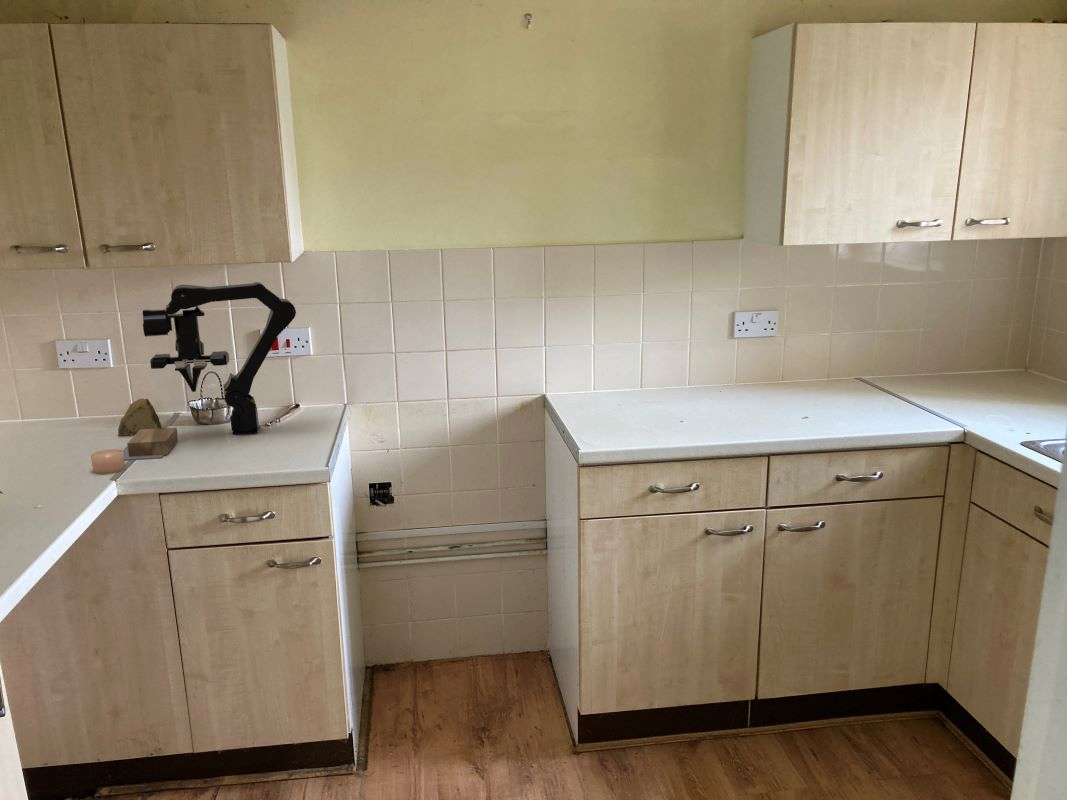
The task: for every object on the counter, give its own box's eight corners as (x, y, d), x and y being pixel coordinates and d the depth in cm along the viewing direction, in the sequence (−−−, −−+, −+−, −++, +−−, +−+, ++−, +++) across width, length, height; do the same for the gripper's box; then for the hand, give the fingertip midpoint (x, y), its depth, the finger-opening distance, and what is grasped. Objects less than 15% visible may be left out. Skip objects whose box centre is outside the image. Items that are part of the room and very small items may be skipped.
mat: (176, 439, 224) (176, 438, 224) (161, 458, 209) (161, 457, 209) (132, 441, 222) (132, 440, 222) (114, 461, 207) (114, 459, 207)
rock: (108, 431, 223) (145, 425, 223) (109, 402, 227) (146, 396, 227) (128, 444, 233) (164, 439, 233) (129, 416, 237) (164, 411, 237)
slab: (176, 427, 221) (140, 429, 220) (165, 441, 210) (127, 443, 208) (177, 440, 222) (141, 442, 221) (167, 454, 211) (129, 456, 209)
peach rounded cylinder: (128, 463, 205) (126, 448, 204) (120, 473, 199) (118, 457, 197) (98, 465, 204) (96, 450, 203) (88, 475, 197) (86, 459, 196)
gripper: (229, 327, 229) (234, 382, 233) (156, 330, 225) (163, 386, 229) (223, 334, 218) (229, 392, 222) (146, 337, 214) (154, 396, 218)
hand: (194, 391), depth 223 cm, fingers closed
